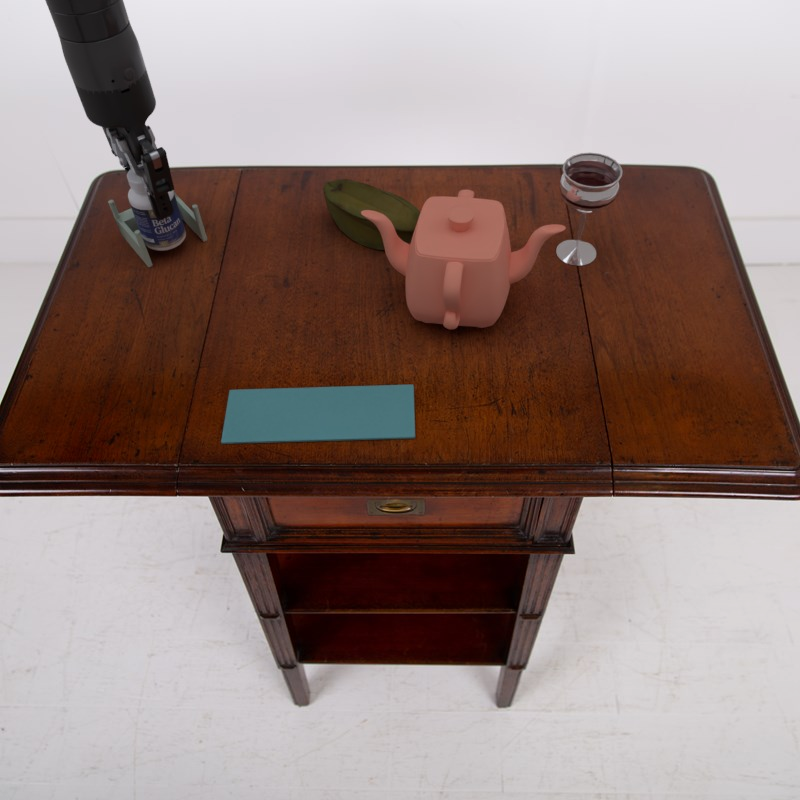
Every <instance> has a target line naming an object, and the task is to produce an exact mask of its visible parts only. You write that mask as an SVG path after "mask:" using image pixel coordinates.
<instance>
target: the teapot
mask: <svg viewBox="0 0 800 800" xmlns="http://www.w3.org/2000/svg"><path fill="white" fill-rule="evenodd" d="M420 212H421V213H420V216H419V218H418V221H417V224H416V227H415V230H414V233H413V237H412V240H411V243H409V244H408V243H406V242H404V241H403V240H401V239H400V238H399V237H398V235H397V233H396V231H395V228H394V226H393V224H392V222H391V221H390V220H389V219H388V218H387V217H386V216H385V215H384V214H382V213H379V212H376V211H372V210H363V211H361V214H362V215H363V216H364V217H365V218H367V219H369V220H370V221H371V222H373V223H374V224H375V225H376V226H377V228H378V229H379V231H380V233H381V236H382V239H383V244H384V248H385V250H384V252H385V255H386V258H387V260H388V262H389V264H390V266H392V268H393V269H394V270H395V271H397V272H398V273H400V274H401V275H403V276H404V277H405V278H404V279H405V301H406V306H407V309H408V311H409V313H410V314H411V316H412V317H413V318H414V319H415V320H416V321H419V322H422V323H424V324H438V325H443V327H444V328H446V329H448V330H456V329H457V328H458V327H474V328H479V329H482V328H483V329H484V328H487V327H491V326H494V324H495V323H496V322H497V321H498V319H499V318H500V317H501V314H502V313H503V310H504V308H505V305H506V303H507V300H508V296H509V292H510V288H511V285H512V284H515V283H517V282H519V281H521V280H523V279H525V277H526V276H527V275H528V274H529V273H530V272H531V271H532V269H533V268H534V265H535V263H536V261H537V258H538V256H539V253H540V251H541V249H542V247H543V246H544V244H545V243H546V241H547V240H548V239H550V238H551V237H552V236H555V235H557V234H560V233H562V232H564V231H565V230H566V225H564V224H559V223H558V224H556V223H554V224H546V225H542V226H539V227H538V228H536V229H535V230H534V231H533V232H532V233H531V235H530V237H529V238H528V240H527V242H526V244H525V245H524V246H523V247H522V248H520V249H518V250H515V251H512V249H511V239H510V233H509V227H508V222H507V216H506V212H505V209H504V206H503V203H502V202H500V201H498V200H495V199H489V198H488V199H487V198H477V197H476V195H475V192H474V191H473V190H471V189H461V190H459V191H458V194H457V196H445V195H444V196H443V195H441V196H439V195H438V196H437V195H436V196H434V195H433V196H429V198H427V199H426V201H425V202H424V203H423V206H422V208H421V210H420Z"/></svg>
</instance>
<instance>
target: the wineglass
mask: <svg viewBox="0 0 800 800" xmlns="http://www.w3.org/2000/svg"><path fill="white" fill-rule="evenodd" d="M562 172H563V173H562V175H561V177H560V180H559V193H560V195H561V198H562V201H563V202H564V203H565V204H566V205H567V206H568V207H569V208H570V209H572V210H573V211H575V212H577V213H580V214H579V223H578V227H577V236H576V238H572V239H566V240H563V241H561V242H560V243H559V244H558V245H557V247H556V250H555V252H556V255H557V257H558V259H559V260H560V261H562V262H564V263H565V264H567V265H571V266H586V265H588V264H591V263H592V262H594V261H595V259H596V258H597V250H596V248H595V247H594V246H593V244H591V243H589V242H588V241H586V240H582V236H583V231H584V228H585V224H586V219H587V217H588V214H589V215H591V214H595V213H599V212H601V211H603V210H606V209H607V208H609V207H610V206H611V205H612V204H613V203H614V202H615V201H616V198H617V197H618V195H619V193H620V185H621V184H620V179H621V178H622V177H623V168H622V166H621V164H620V163H619V162H618V161H617V160H616V159H614V158H612V157H610V156H609V155H605V154H602V153H599V152H581V153H577V154H574V155H572V156H570V157H568V158H567V159H566V160H565V162H563V164H562Z"/></svg>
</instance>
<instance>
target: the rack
mask: <svg viewBox="0 0 800 800" xmlns="http://www.w3.org/2000/svg"><path fill="white" fill-rule="evenodd" d="M173 191H174V194H175V198H176V201H177V204H178V208H179V211H180V214H181V217H182V221H183V222H184V223H186V225H187V226H188V227H189V228H190V230H192V231H193V232H194V233H195V234H196V236H198V238H200V239H201V241H202V242H207V241H208V236H207V233H206V230H205V227H204V226H205V225H204V222H203V220H202V216H201V212H200V210H199V206H198V205H197V204H192V206H191V208H192V209H191V208H189V206H188V205H187V204H186V203H185V202H184V200H182V199H181V198H180V197H179V196H178V195H177V194H176V192H175V189H174V190H173ZM107 203H108V205H109V208H110V211H111V212H112V215H113V219H114V221H115V224H116V225H117V228H118V231H119V233H120V235H121V236H122V237H123V238H124V240H125V241H126V243H128V244H129V246H130V247H131V248H132V249H133V251H134V252H135V253H136V255H138V257H139V259H141V261H143V263H144V264H145V265H146V266H147V267H148V268H152V267H153V265H154V264H153V262H152V259H151V257H150V254H149V251H148V249H147V246H146V245H145V243H144V241H143V238H142V235H141V233H140V231H139V228H138V225H137V222H136V219H135V217H134V214H133V211H132V208H131V207H130V208H129V209H126V210H124V211H121V212H119V210H118V208H117V205H116V203H115V200H114V199H109V200H108V201H107Z"/></svg>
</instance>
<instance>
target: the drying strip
mask: <svg viewBox="0 0 800 800" xmlns="http://www.w3.org/2000/svg"><path fill="white" fill-rule="evenodd" d="M415 414H416V413H415V386H414V384H411V383H410V384H385V385H384V384H379V385H377V384H376V385H347V386H346V385H345V386H315V387H314V386H313V387H278V388H277V387H276V388H247V389H246V388H245V389H244V388H243V389H229V392H228V397H227V404H226V409H225V416H224V420H223V421H224V422H223V428H222V433H221V434H222V435H221V440H220V443H221V445H234V444H235V445H236V444H264V443H265V444H269V443H271V444H273V443H299V442H300V443H302V442H305V443H306V442H307V443H308V442H337V441H338V442H339V441H340V442H341V441H343V442H344V441H345V442H346V441H378V440H380V441H381V440H408V439H409V440H410V439H412V440H413V439H416V419H415V418H416V417H415Z"/></svg>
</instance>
